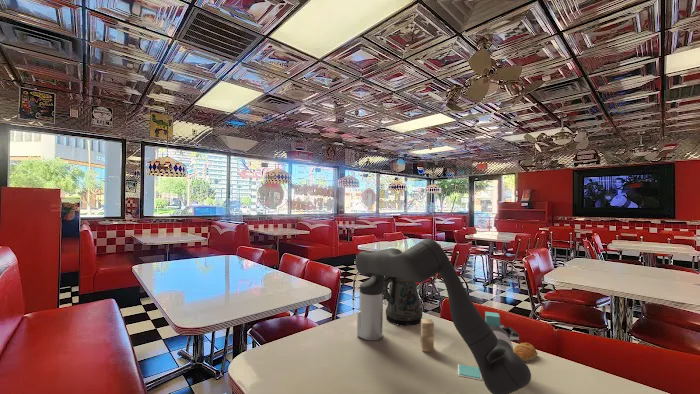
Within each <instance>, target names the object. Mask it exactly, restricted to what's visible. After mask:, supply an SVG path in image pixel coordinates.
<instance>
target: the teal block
mask: <svg viewBox="0 0 700 394" xmlns="http://www.w3.org/2000/svg"><path fill="white" fill-rule="evenodd" d="M484 317H485V318H484V320H485V321H486V323H487V324H488V325H489V326H497V327H499V326H500V323H501V316H500V314H499V313H498V312H492V311H484Z"/></svg>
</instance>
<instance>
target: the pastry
mask: <svg viewBox="0 0 700 394" xmlns="http://www.w3.org/2000/svg"><path fill="white" fill-rule="evenodd" d="M513 351H514V353H515V354H517V355H518V356H519V357H520V358H521V359H522V360H523V361H524V362H525V363H528V362H529V361H534V359H536V357H537V356H538V354H539V353H538V351H537V350H536V348H535V347H534V345H532V344H531V343H529V342H520V343H519V344H517V345H516V346H515V347H513Z"/></svg>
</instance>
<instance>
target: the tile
mask: <svg viewBox="0 0 700 394" xmlns="http://www.w3.org/2000/svg"><path fill="white" fill-rule="evenodd" d="M457 376H458V377H462V378H463V377H464V378H467V379H473V380H479V381H483V378H482V375H481V372H480V369H479V367H478V366H477V367H476V366H470V365H466V364H461V363H458V364H457Z"/></svg>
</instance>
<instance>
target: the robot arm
mask: <svg viewBox="0 0 700 394" xmlns="http://www.w3.org/2000/svg"><path fill="white" fill-rule="evenodd" d="M355 268H356V271H357V272H358V273H359V274H360V275H362V276H371V277H370V278H369V279H367V280H365V281H363V282H362V283H360V285H359V303H358V304H359V305H358V307H359V308H358V309H359V310H358V311H357V328H356V333H357V334H356V337H358V338H361V339H362V340H364V341H377V340H380V339H382V338H383V312H384V309H383V307H384V301H383V299H384V296H383V287H384V277H385V276H386V277H399V278H404V279H407V280H410V281H413V282H416V283H423V282H426V281H428V280H429V279H431V278H432V277H433V276H436V274H439V276H440V277H441V279H442V281H443V283H444V285H445V288H446V292H447V297H448V302H449V311H450V316H451V319H452V320H451V321H452V323H453V325H454V327H455V328H456V330H457V332H458V333H459V335H460V336H461V338H462V340H463V341H464V342H465V344H466V345H467V347H468V348H469V350H470V351H471V353H472V355H473V358H474V359H475V361H476V362H475V363H476V364H477V367H478V368H479V369H480V372H481V376H482V381H483V383H484V385H485V387H486V388H487V391H489V393H491V394H512V393H514V392H516V391H519V390H521V389H522V388H525V387H526V386H528V385H529V384H530V383H531V379H532V374H531V373H532V372H531V370H530V368H529V366H528V364H527V362H525V361H523V360H522V359H521V358H520V357H519V356H518V355H517V354H515V353H514V346H513V343H512V341H513V342H515V343H520V341H519V340H520V334H519V333H518V332H517V331H516V330H515V329H513V328H512V327H511V326H506V327H505V325H504V323H501V322H500V326H499V327H497V326H489V325H488V324H487V323H486V321H485V318H484V317H483V316H482V314H481V313H480V312H479V310H478V309H477V307H476V305H475V303H474V302H473V301H472V299H471V297H470V296H469V294H468V292H467V290H466V288H465V285H464V284H463V282H462V280H461V278H460V276H459V275H458V273H457V271H456V270H455V268H454V266H453V264H452V262H451V261H450V258H449V257H448V255H447V253H446V252H445V250H444V249H443V247H441V245H440V244H439V243H438V242H437V241H436V240H434V239H432V238H424V239H422V240H421V241H419V242H417V243H416V244H414V245H412V246H410V247H409V248H407V249H405V250H403V251H402V250H400V249H398V248H393V247H391V248H390V247H389V248H384V249H380V250H366V251H364V250H363V251H360V252H359V253H357V256H356V257H355Z"/></svg>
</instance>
